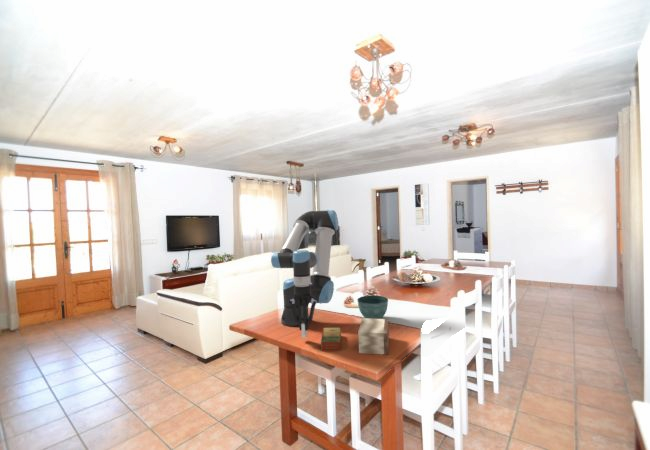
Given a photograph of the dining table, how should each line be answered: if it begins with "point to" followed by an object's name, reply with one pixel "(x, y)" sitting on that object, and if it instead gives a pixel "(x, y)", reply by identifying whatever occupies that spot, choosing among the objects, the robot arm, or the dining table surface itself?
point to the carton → (331, 339)
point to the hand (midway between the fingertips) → (304, 337)
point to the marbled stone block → (373, 336)
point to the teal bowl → (373, 306)
